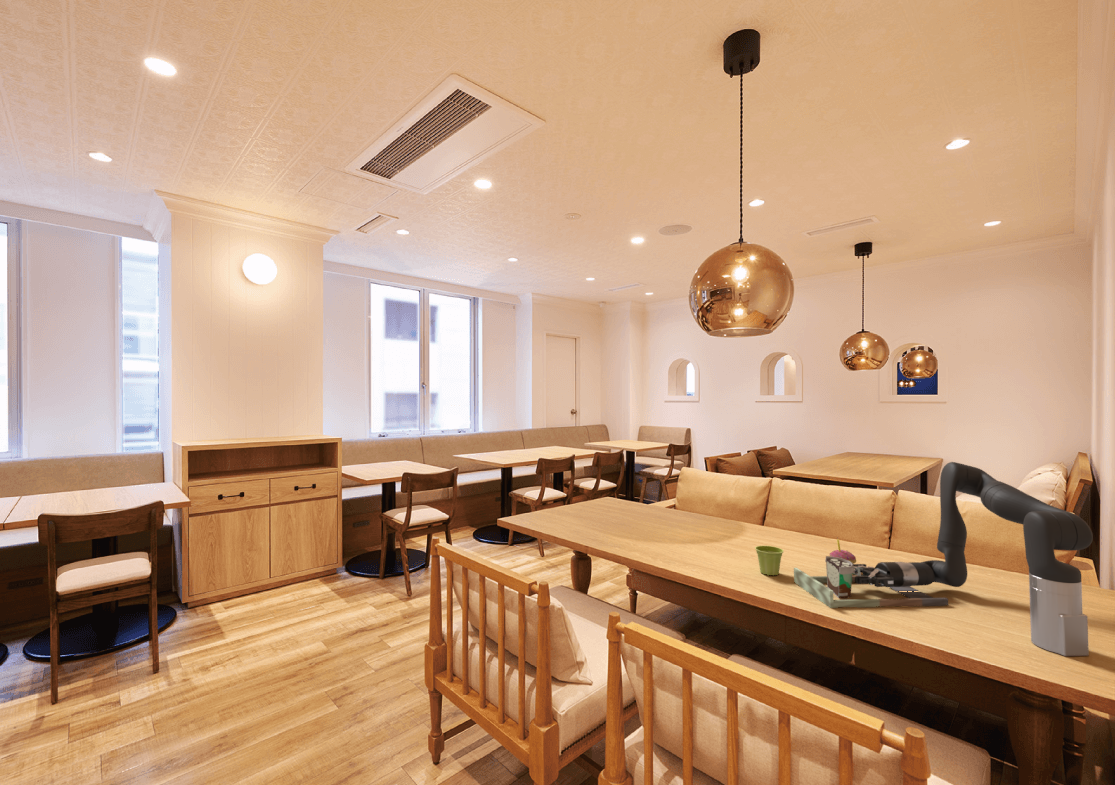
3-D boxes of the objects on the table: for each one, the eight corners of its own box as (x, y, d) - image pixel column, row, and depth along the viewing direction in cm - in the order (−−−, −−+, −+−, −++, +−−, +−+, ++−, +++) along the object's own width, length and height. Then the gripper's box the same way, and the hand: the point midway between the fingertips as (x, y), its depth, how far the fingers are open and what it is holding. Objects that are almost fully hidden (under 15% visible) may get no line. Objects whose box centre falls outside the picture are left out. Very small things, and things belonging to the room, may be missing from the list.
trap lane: (948, 605, 147) (947, 588, 147) (830, 608, 146) (829, 591, 146) (897, 580, 168) (897, 565, 168) (794, 582, 167) (793, 567, 167)
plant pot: (757, 567, 183) (757, 544, 183) (785, 571, 178) (785, 547, 178) (753, 575, 175) (752, 550, 175) (782, 579, 170) (781, 554, 170)
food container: (862, 601, 151) (861, 568, 151) (840, 600, 152) (840, 567, 152) (845, 586, 163) (845, 556, 163) (825, 585, 164) (825, 555, 164)
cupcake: (842, 575, 174) (841, 541, 174) (823, 567, 182) (823, 534, 183) (862, 572, 176) (861, 539, 177) (842, 565, 184) (842, 533, 185)
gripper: (880, 555, 165) (833, 556, 164) (913, 569, 150) (861, 570, 150) (881, 578, 164) (834, 579, 164) (913, 594, 150) (862, 595, 150)
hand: (847, 575), depth 157 cm, fingers open, 8 cm apart
